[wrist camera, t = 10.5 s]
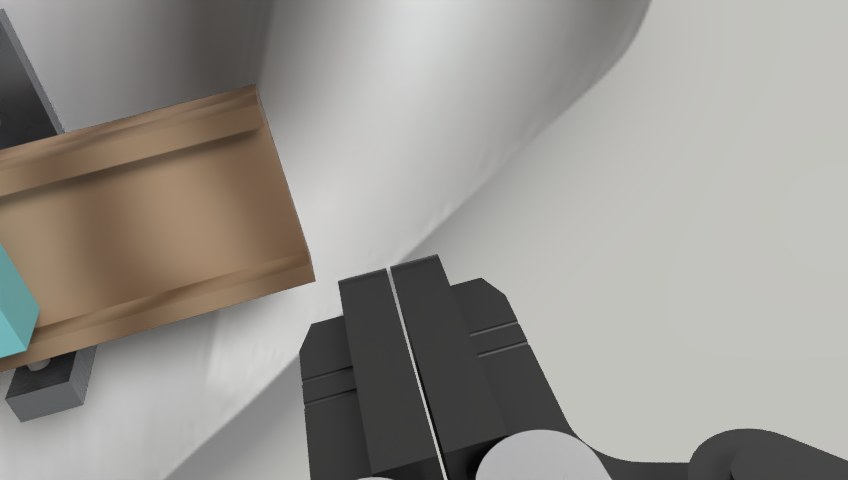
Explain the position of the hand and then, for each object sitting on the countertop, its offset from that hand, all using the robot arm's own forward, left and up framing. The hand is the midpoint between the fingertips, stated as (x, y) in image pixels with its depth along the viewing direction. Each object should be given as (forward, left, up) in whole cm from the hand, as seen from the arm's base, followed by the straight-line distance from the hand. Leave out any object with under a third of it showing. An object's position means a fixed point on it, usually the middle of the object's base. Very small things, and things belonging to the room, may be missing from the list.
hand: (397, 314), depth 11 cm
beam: (+17, +9, -22) cm, 29 cm away
